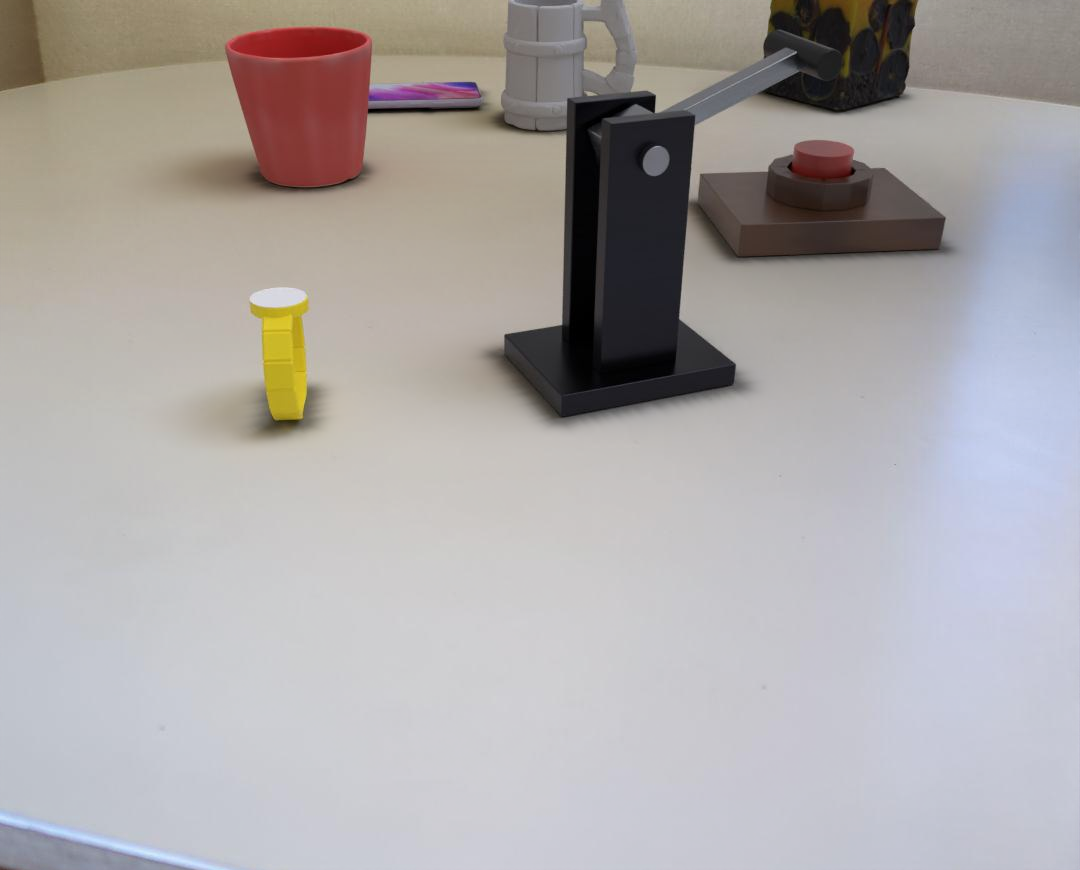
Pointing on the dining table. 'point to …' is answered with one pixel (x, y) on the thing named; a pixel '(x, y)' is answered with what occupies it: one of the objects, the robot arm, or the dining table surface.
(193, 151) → the dining table surface
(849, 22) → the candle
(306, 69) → the flower pot
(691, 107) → the switch lever
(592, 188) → the switch bracket
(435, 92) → the smartphone
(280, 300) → the watch
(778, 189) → the switch block
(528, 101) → the mug
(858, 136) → the dining table surface
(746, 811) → the dining table surface
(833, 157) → the button
